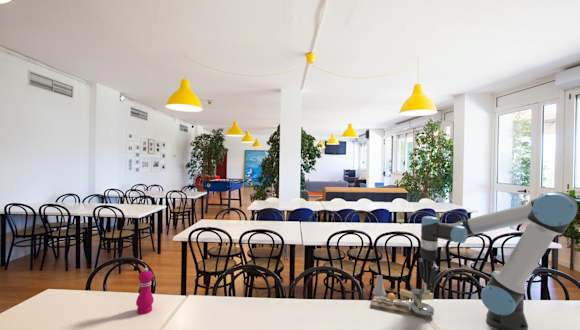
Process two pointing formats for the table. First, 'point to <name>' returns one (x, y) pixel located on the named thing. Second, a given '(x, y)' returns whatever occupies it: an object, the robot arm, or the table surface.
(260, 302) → the table surface
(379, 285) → the flask
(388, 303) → the board
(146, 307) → the pepper mill
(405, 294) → the cam capstan
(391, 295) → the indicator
